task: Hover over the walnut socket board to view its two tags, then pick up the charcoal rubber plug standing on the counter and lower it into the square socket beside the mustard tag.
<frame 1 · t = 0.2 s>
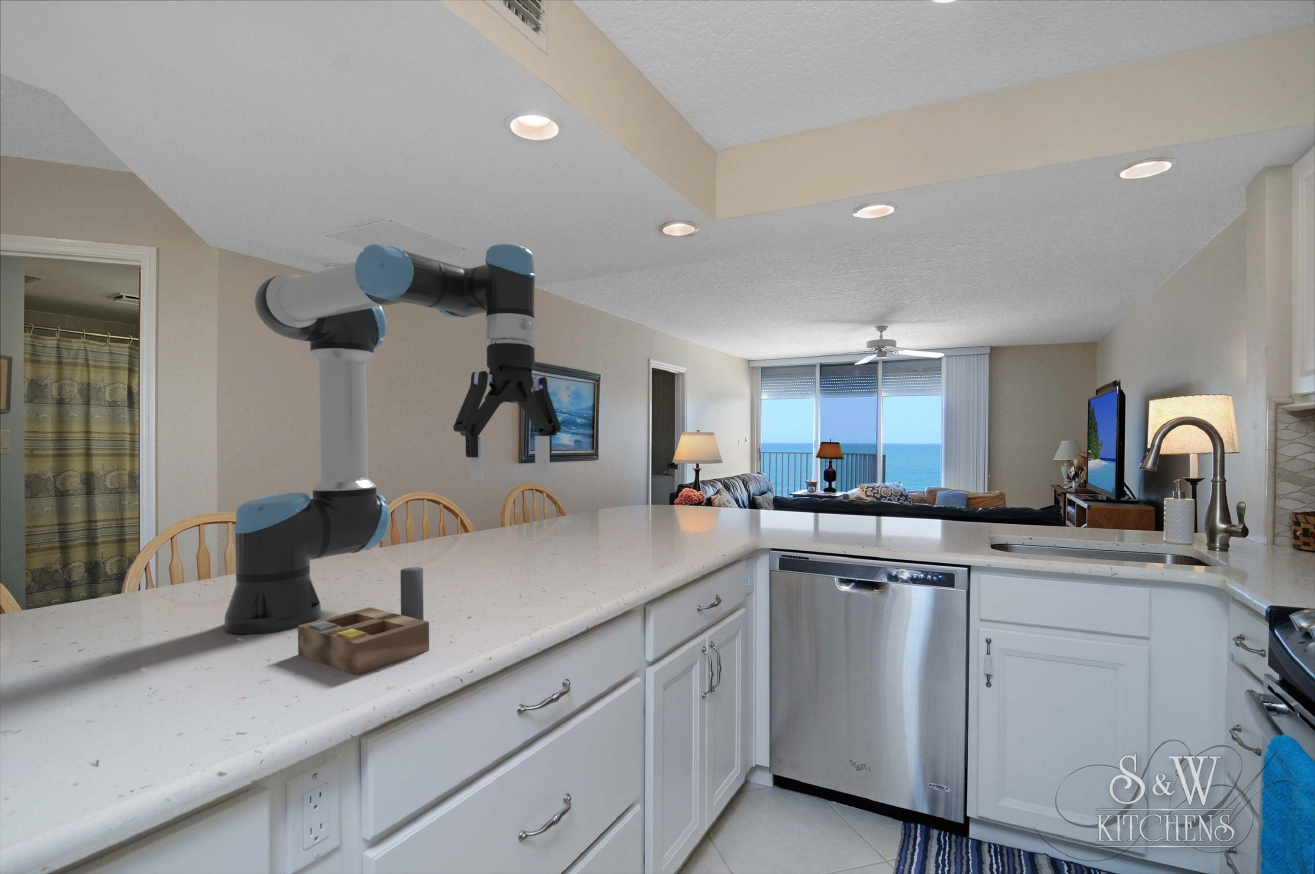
hand: (511, 477, 98), 27 cm above the table, fingers open, 13 cm apart
socket board: (364, 652, 97), on the table
plug: (412, 624, 111), on the table
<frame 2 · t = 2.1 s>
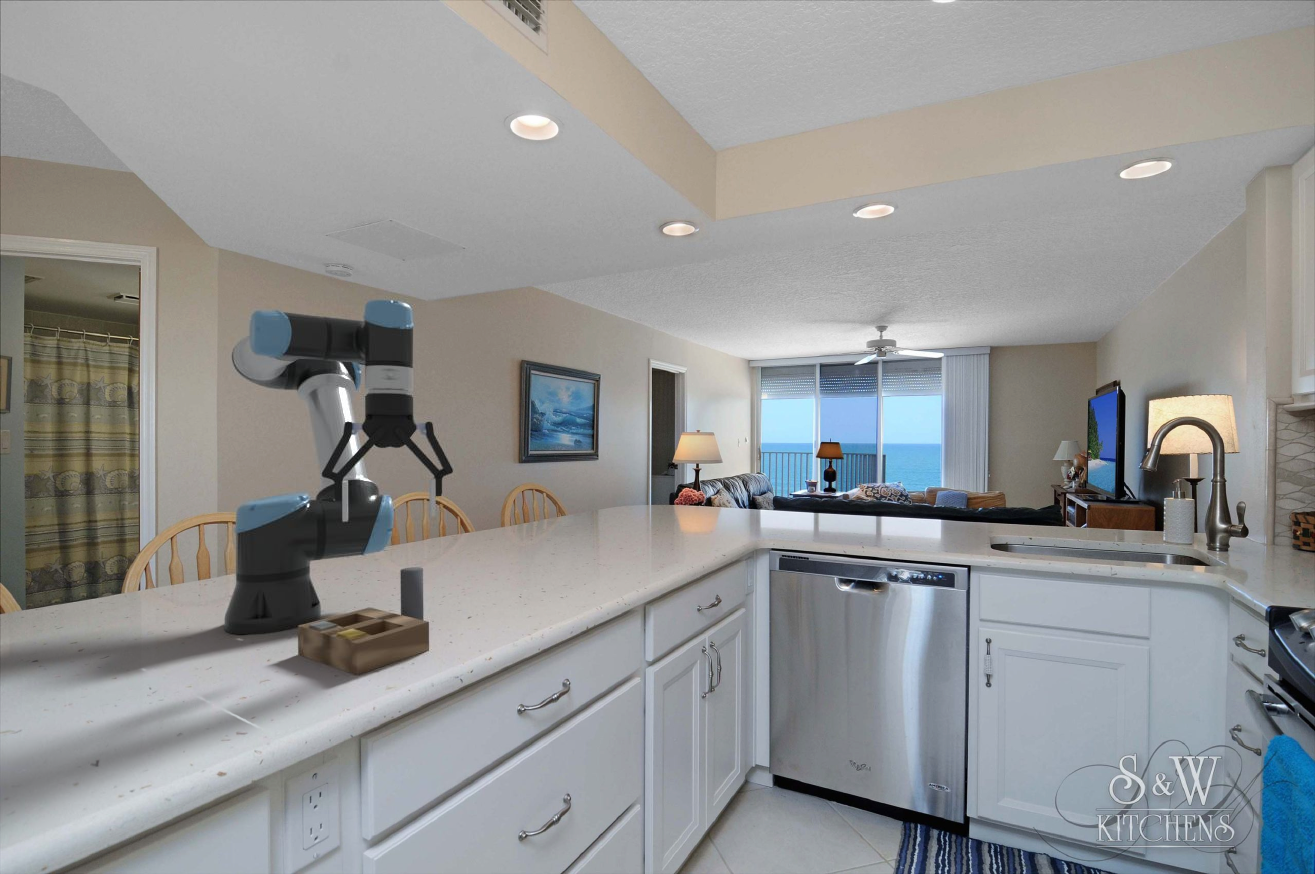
hand: (390, 518, 104), 20 cm above the table, fingers open, 13 cm apart
nothing on the table moved.
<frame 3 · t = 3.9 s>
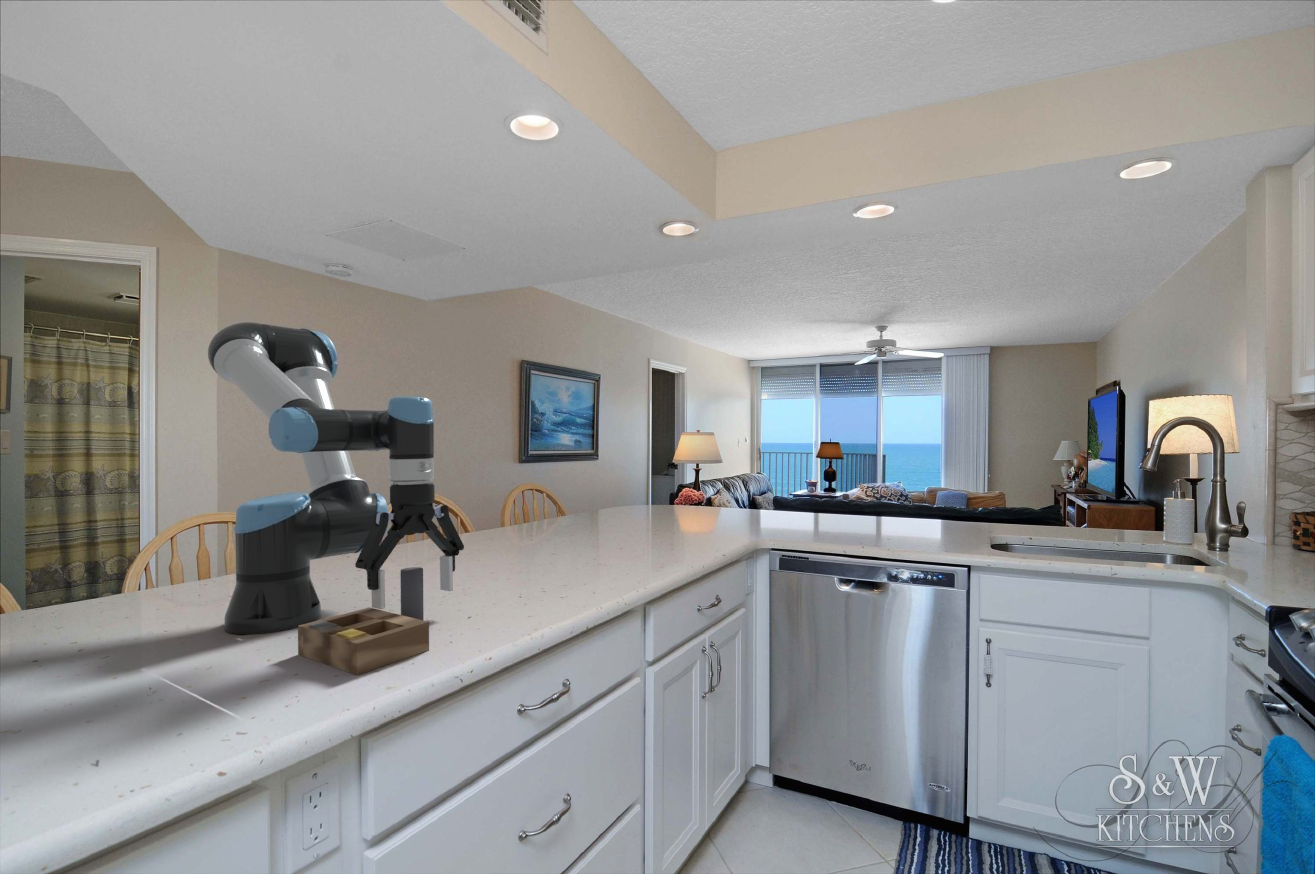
hand: (414, 600, 111), 4 cm above the table, fingers open, 13 cm apart
nothing on the table moved.
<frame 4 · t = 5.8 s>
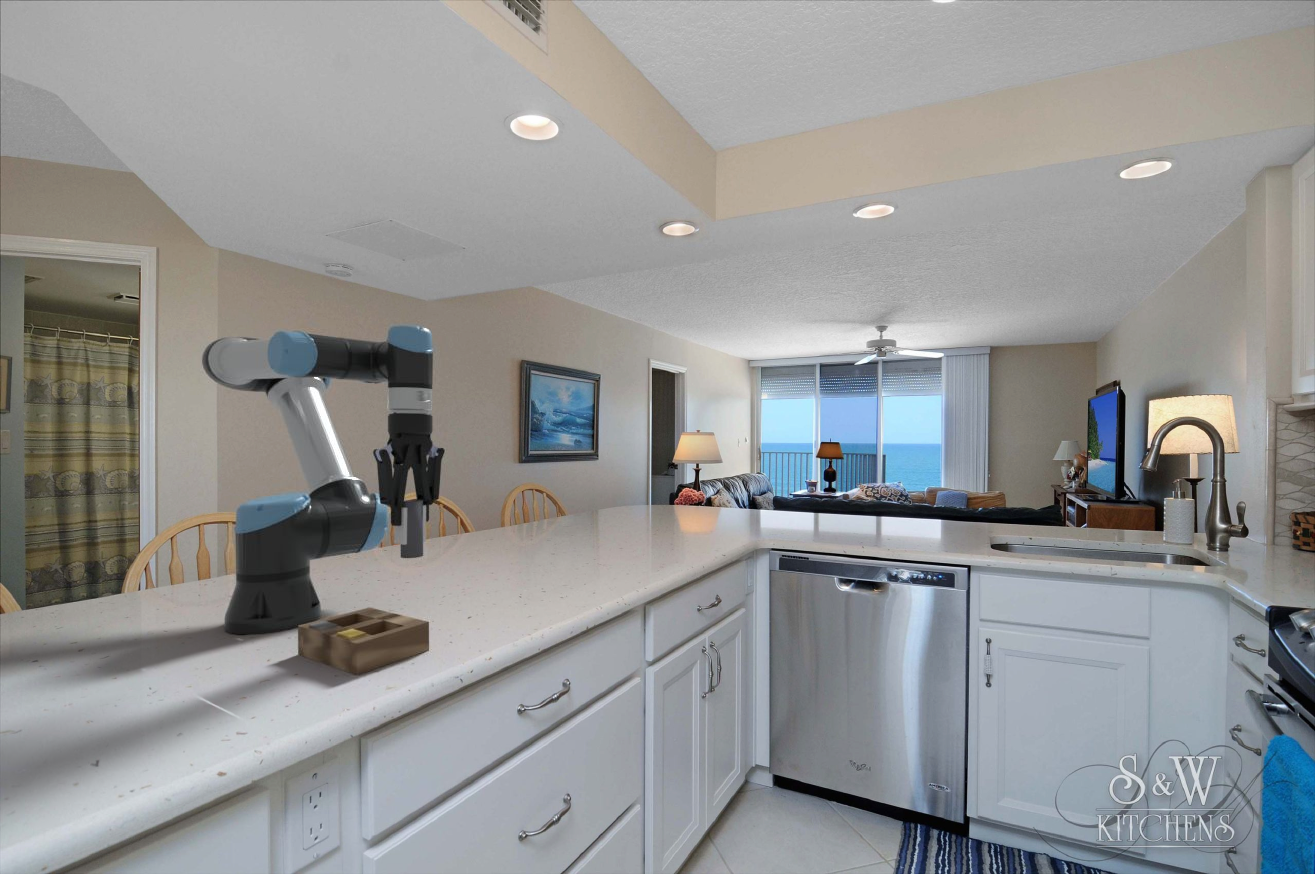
hand: (410, 541, 111), 15 cm above the table, fingers closed on plug, 3 cm apart
plug: (411, 556, 111), point 12 cm above the table, touching gripper
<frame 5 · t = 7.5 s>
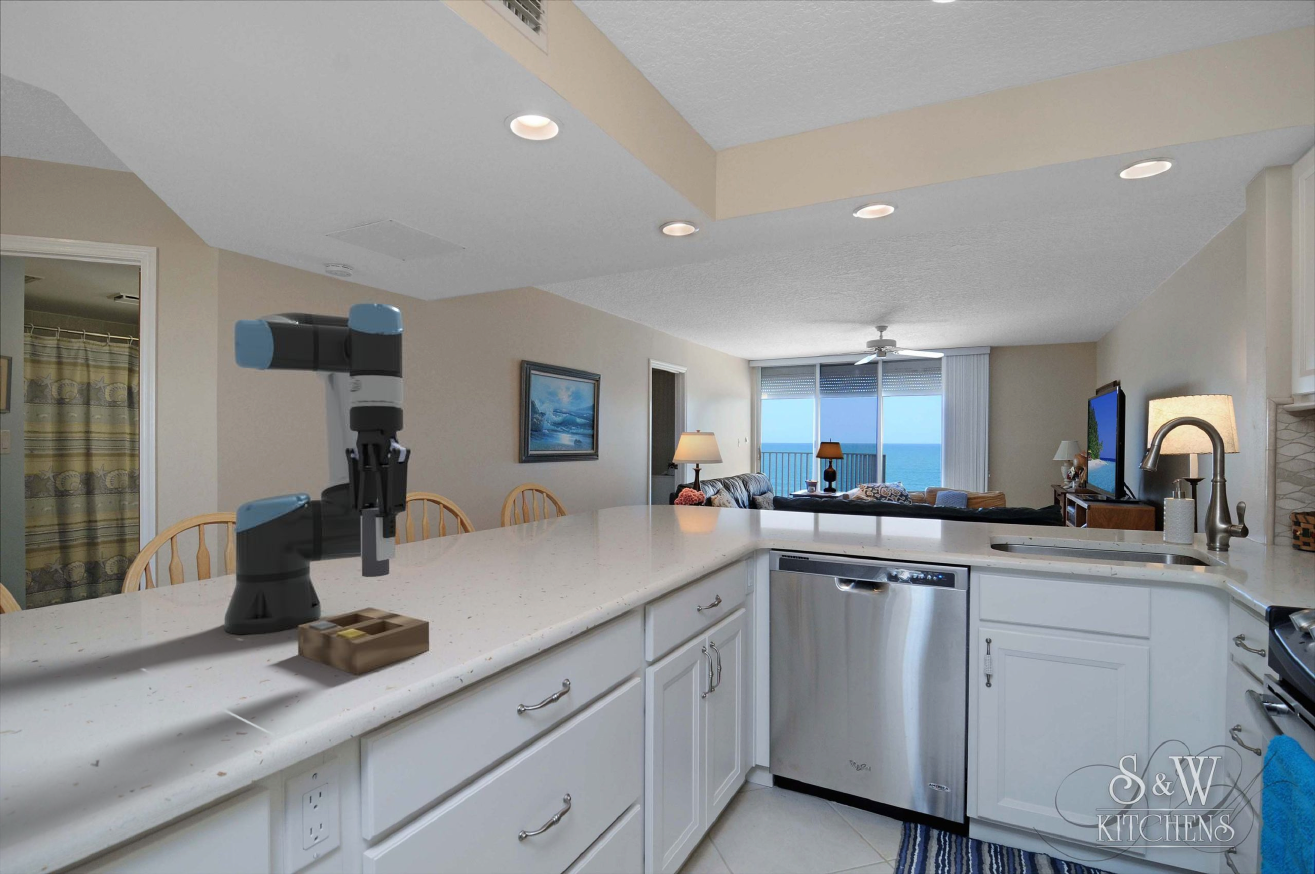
hand: (378, 557, 94), 15 cm above the table, fingers closed on plug, 3 cm apart
plug: (375, 574, 94), point 13 cm above the table, touching gripper
when the fingers open (5 cm above the table, at t = 9.3 s): plug drops 2 cm, resting in socket board.
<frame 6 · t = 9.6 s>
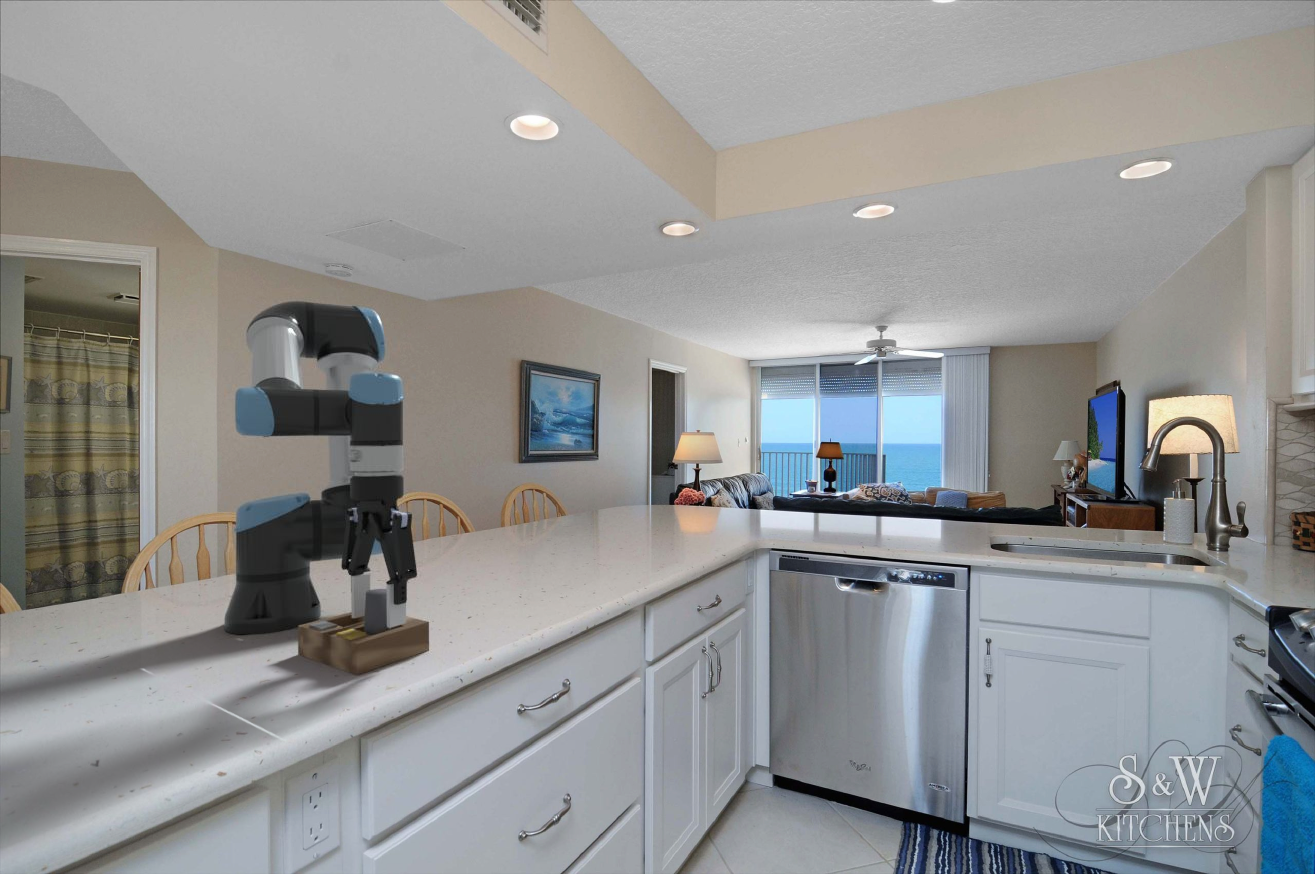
hand: (378, 620, 95), 6 cm above the table, fingers open, 8 cm apart
plug: (375, 656, 94), resting in socket board
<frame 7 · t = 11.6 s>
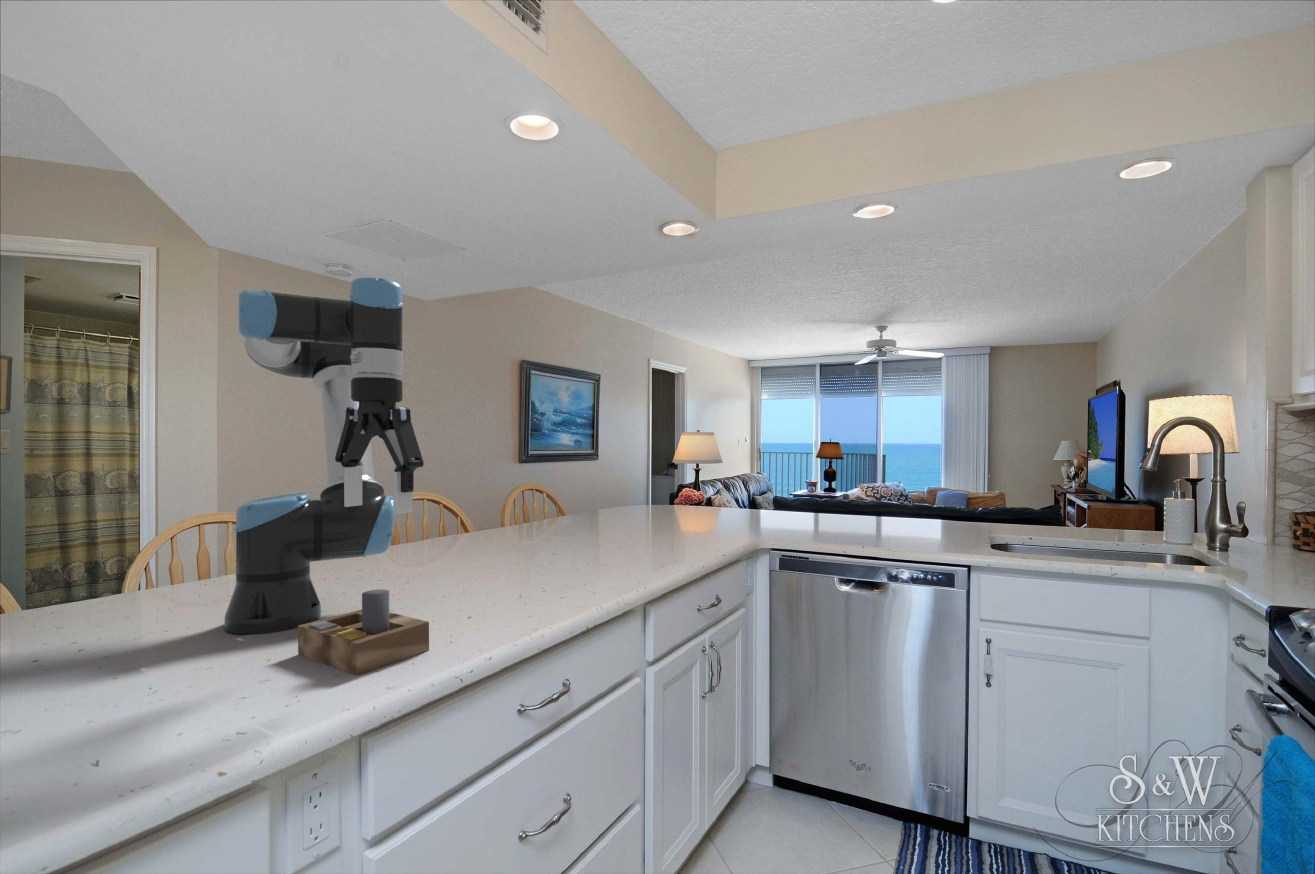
hand: (377, 509, 99), 22 cm above the table, fingers open, 13 cm apart
nothing on the table moved.
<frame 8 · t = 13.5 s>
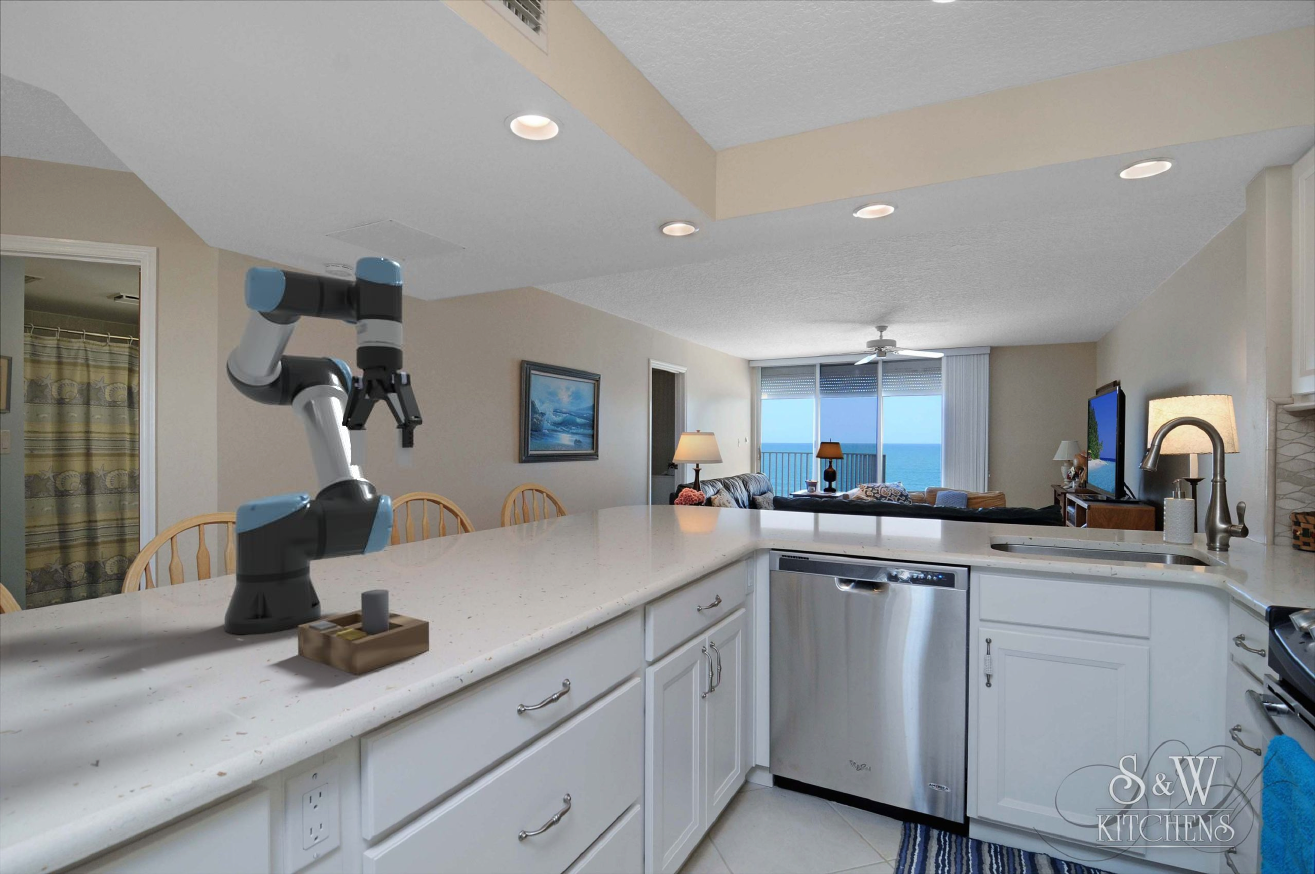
hand: (380, 466, 109), 29 cm above the table, fingers open, 13 cm apart
nothing on the table moved.
at the end: plug 0.4 cm from the target spot on the socket board, point 0.0 cm above the socket board's base; plug tilted 0°; the gripper is holding nothing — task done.
